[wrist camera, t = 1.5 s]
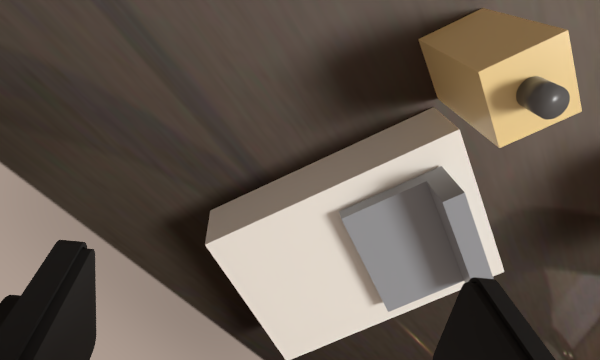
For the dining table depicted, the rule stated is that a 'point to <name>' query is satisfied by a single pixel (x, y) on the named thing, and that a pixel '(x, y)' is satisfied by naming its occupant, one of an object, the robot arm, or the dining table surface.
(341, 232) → the socket
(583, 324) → the dining table surface
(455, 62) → the plug
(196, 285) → the dining table surface
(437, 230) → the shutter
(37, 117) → the dining table surface
